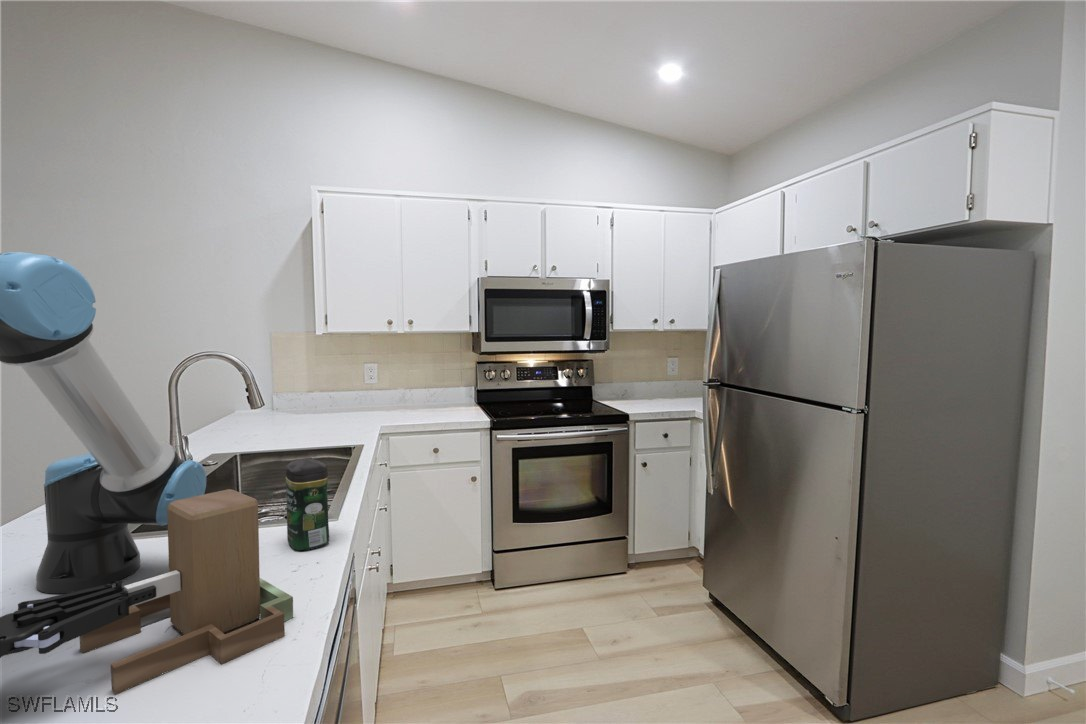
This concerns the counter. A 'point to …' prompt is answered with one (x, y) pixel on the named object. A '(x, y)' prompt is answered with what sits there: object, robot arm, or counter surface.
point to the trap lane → (187, 638)
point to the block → (214, 560)
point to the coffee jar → (307, 504)
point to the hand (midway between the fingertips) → (178, 580)
